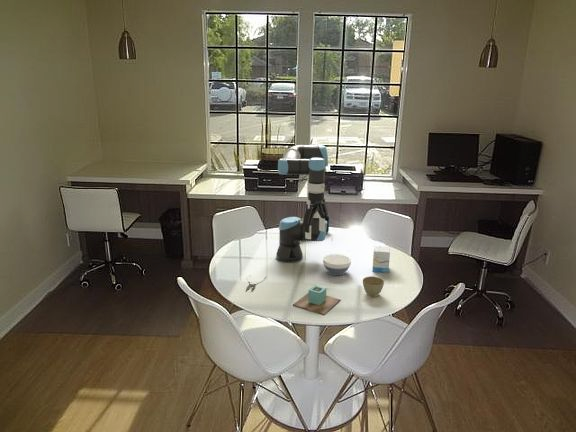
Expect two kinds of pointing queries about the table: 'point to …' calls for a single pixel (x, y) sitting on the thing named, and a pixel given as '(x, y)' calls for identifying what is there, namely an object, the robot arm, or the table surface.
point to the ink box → (381, 259)
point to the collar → (317, 295)
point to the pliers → (251, 286)
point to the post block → (319, 309)
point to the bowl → (336, 264)
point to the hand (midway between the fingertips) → (315, 234)
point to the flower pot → (373, 285)
